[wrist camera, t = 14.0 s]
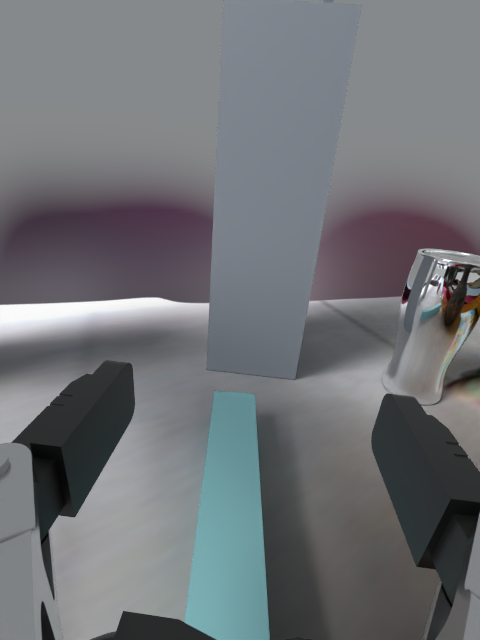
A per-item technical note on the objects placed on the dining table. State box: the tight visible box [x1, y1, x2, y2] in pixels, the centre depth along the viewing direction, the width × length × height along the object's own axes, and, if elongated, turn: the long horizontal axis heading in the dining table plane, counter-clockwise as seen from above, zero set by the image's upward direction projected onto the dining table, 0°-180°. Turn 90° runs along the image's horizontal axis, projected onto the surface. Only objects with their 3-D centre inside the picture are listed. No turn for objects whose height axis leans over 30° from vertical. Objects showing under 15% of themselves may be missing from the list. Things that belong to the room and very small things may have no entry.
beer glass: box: [382, 249, 480, 405], centre depth 33 cm, size 7×7×15 cm
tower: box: [207, 0, 362, 380], centre depth 34 cm, size 10×10×34 cm
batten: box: [184, 391, 270, 640], centre depth 17 cm, size 4×24×4 cm, turn 0°
